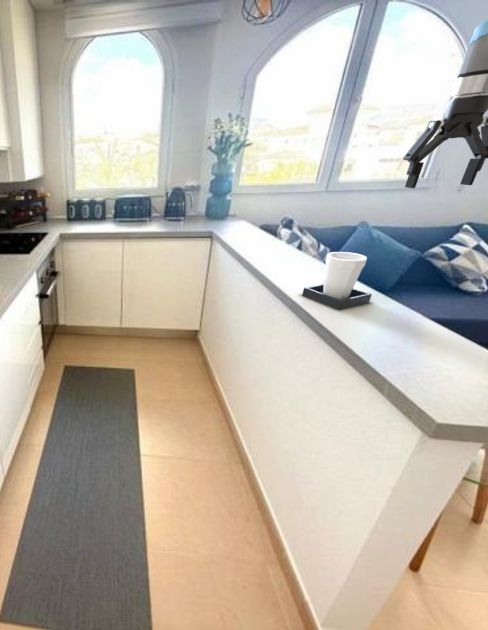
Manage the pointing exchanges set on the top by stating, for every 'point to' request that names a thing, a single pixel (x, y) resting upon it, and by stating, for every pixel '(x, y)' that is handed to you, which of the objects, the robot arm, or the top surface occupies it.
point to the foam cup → (342, 273)
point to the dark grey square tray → (353, 300)
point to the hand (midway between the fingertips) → (437, 186)
